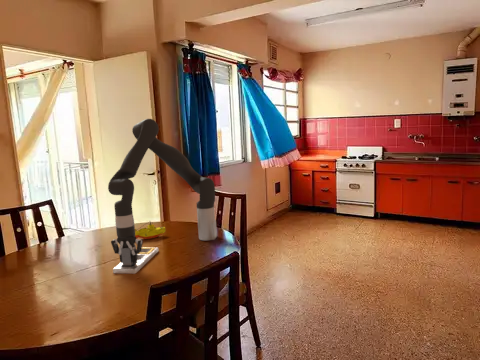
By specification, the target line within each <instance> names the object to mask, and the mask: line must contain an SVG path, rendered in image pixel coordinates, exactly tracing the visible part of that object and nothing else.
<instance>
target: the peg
mask: <svg viewBox="0 0 480 360" xmlns="http://www.w3.org/2000/svg"><path fill="white" fill-rule="evenodd" d="M132 247H133V246H132ZM121 254H122V263H123V267H133V266H134V265H135V264H136V263H133V256H132V255H133V254H132V252H131V251H130V248H121Z"/></svg>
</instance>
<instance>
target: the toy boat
mask: <svg viewBox="0 0 480 360" xmlns="http://www.w3.org/2000/svg"><path fill="white" fill-rule="evenodd" d="M145 225H146V227H144V226H145ZM164 233H166V227H165V226H159V227H156V225H154V224H153V223H152V221H151V220H149V221H148V222H146V223H145V224H143V225H142V226H140V227H139V228H135V237H136V238H137V239H143V240H149V239H155V238H158V237H159V236H161V235H163V234H164Z"/></svg>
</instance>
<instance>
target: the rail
mask: <svg viewBox="0 0 480 360" xmlns="http://www.w3.org/2000/svg"><path fill="white" fill-rule="evenodd" d="M157 253H159V247H157V246H156V247H155V246H154V247H148V246H147V247H144V246H142V249H141V252H140V253H139V254H137V256H138V261H137V262H136V264H135V265H134V266H133V267H123V263H121V262H119V263H118V264H117V265H116V266H114V267H113V268H112V273H113V274H134V275H135V274H137V273H138V272H139V271H140V269H142V268H143V267H144V266H146V265H147V264H148V262H149V261H150V260H151V259H152V258H153V257H154V256H155V255H157Z"/></svg>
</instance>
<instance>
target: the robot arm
mask: <svg viewBox="0 0 480 360" xmlns="http://www.w3.org/2000/svg"><path fill="white" fill-rule="evenodd" d="M159 129H160V127H159V124H158V123H157V122H156V121H155V119H153V118H146V119H143V120H141V121H139V122H137V123H136V124H134V125H133V126H132V135H133V136H134V138H135V139H136V142H135V143H134V144H133V145H132V147H131V148H130V150H129V151H128V152H127V154H126V156H125V157H124V159H123V162H122V163H121V166H120V167H119V169H118V170H117V171H116V172H115V173H114V175H113V176H112V177H111V178H110V180H109V182H108V187H107V190H108V192H109V194H110V195H112V196H121V200H117V201H116V202H115V203H114V215H115V221H114V222H115V229H116V230H115V231H116V236H117V238H114V239H112V240H111V241H110V244H111V247H112V249H113V253H114V254H118V255H119V263H122V254H121V248H130V251H131V252H132V254H133V255H132V256H133V263H136V262H137V261H138V260H139V259H138V256H137V254H139V253H140V252H141V249H142V247H143V242H144V239H143V238H136V237H135V229H136V227H135V219H134V214H133V213H134V212H133V206H132V205H133V198H134V193H135V184H134V182H133V181H132V178H135V176H136V175H137V173H138V170H139V168H140V165H141V163H142V162H143V160H144V157H145V155H146V154H147V151H148V150H150V151H151V152H153V154H155V156H156V157H158V158H159V159H160V160H162V161H163V162H164V163H165V164H166V165H167V167H169V168H170V169H171V170H172V171H174V173H176V174H177V175H178V176H179V177H181V178H182V179H183V180H184V181H185V182H186V183H187V184H188V185H189V187H191V189H192V190H193V191H194V192H195V193H196V194H199V200H198V201H197V202H196V214H197V215H196V216H197V229H198V230H197V231H198V239H199V240H200V241H205V242H206V241H215V240H216V238H217V237H218V233H217V232H218V231H217V220H216V219H215V218H216V216H215V201H216V187H215V181H213V179H212V178H210V177H203V176H202V175H201V174H200V173H198V172H197V171H196V170H195V169H194V168H193V167H192V165H191V163H190V161H189V159H188V158H187V157H186V156H185V155H184V154H183V153H182V152H181V151H180V150H179V149H177V148H176V147H174V146H173V145H170V144H167V143H165V142H163V141H161V140H160V139H158V138H157V136H158V134H159ZM135 243H136V244H135ZM132 246H133V247H132Z"/></svg>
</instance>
